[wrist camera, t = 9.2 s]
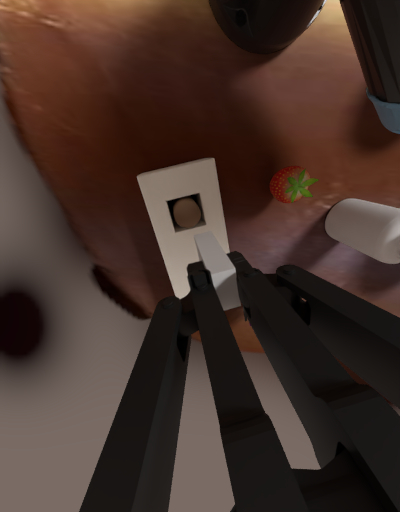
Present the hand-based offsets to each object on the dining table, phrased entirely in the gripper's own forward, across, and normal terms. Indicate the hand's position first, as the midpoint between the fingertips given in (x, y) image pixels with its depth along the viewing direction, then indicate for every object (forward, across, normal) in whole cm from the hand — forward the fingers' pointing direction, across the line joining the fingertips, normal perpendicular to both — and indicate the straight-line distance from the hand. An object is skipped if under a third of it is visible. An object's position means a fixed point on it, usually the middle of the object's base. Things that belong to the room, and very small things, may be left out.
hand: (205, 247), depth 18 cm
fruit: (+19, +16, 0) cm, 24 cm away
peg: (+18, 0, 0) cm, 18 cm away
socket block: (+18, 0, -6) cm, 19 cm away
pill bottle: (+19, +29, -10) cm, 36 cm away
